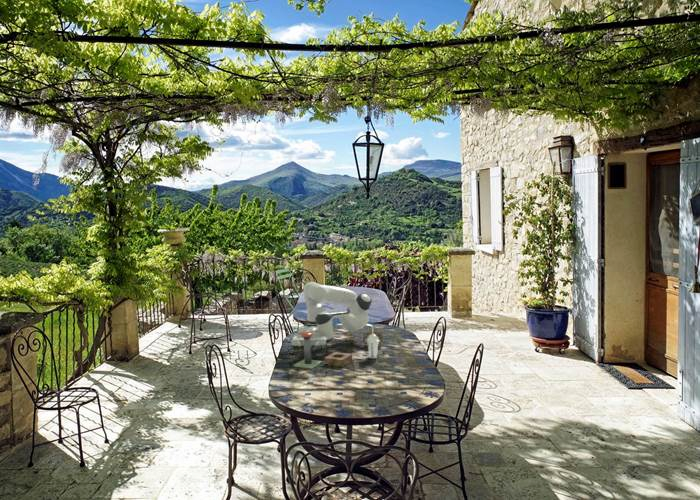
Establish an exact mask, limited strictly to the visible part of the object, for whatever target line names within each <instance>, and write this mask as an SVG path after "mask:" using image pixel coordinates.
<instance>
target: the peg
mask: <svg viewBox="0 0 700 500" xmlns="http://www.w3.org/2000/svg"><path fill="white" fill-rule="evenodd" d="M311 336H313V335H312V332H303V333H301V337H303V338H304V345H303V350H304V351H303V352H304V354H303V355H304V359H305V364H311V363H312V360H313V359H312V346H311Z"/></svg>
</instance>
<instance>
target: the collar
mask: <svg viewBox="0 0 700 500" xmlns="http://www.w3.org/2000/svg"><path fill="white" fill-rule="evenodd" d="M323 362H324V364H328V365H327V366H331V365H335V366H334V367H339V366H344V367H346V366H347V365H349V364H351V362H353V354H352V353H343V352H337V351H336V352H335V351H333V352H332V353H330V354H328V355H326V356H325V357H324V358H323ZM345 365H346V366H345Z"/></svg>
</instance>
